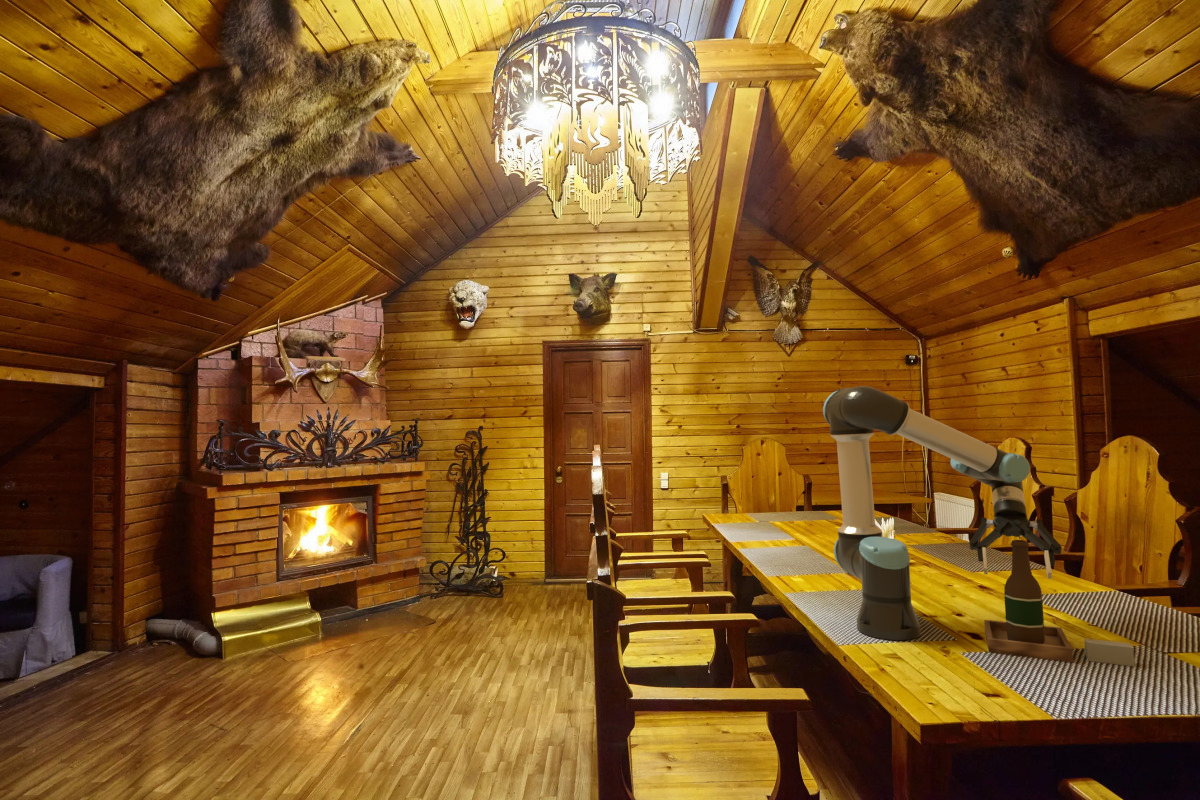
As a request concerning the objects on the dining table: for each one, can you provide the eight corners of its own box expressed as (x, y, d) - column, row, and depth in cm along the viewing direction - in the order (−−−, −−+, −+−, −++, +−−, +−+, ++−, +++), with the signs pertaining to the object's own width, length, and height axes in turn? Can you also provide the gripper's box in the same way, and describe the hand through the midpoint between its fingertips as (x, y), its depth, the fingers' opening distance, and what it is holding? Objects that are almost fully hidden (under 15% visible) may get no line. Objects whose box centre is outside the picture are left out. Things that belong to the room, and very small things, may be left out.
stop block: (1088, 660, 138) (1086, 642, 138) (1085, 656, 141) (1084, 638, 141) (1134, 666, 134) (1133, 647, 135) (1130, 661, 137) (1129, 643, 137)
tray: (988, 652, 145) (987, 639, 145) (985, 631, 159) (984, 619, 159) (1073, 662, 138) (1072, 648, 138) (1061, 640, 151) (1061, 627, 152)
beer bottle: (999, 639, 150) (993, 540, 151) (1019, 634, 154) (1012, 536, 155) (1033, 649, 143) (1026, 544, 144) (1053, 643, 147) (1046, 541, 148)
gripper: (956, 497, 176) (959, 561, 163) (1065, 498, 163) (1078, 569, 150) (958, 513, 180) (961, 577, 167) (1064, 516, 168) (1077, 585, 154)
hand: (1017, 573), depth 158 cm, fingers open, 13 cm apart
